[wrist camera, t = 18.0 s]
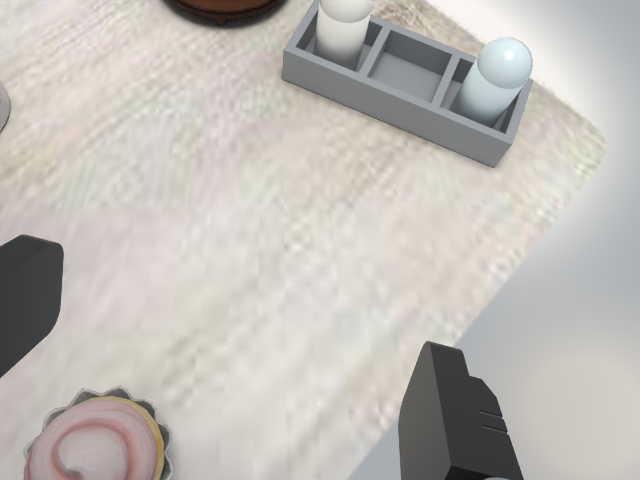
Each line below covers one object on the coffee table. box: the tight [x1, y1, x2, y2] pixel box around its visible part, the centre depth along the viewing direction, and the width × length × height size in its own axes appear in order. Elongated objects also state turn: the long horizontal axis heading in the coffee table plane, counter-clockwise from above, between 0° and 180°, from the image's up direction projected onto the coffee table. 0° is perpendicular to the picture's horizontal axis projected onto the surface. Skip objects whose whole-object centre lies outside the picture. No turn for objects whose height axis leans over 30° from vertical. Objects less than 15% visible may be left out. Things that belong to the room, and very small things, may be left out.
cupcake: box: [23, 385, 174, 480], centre depth 33 cm, size 9×9×10 cm
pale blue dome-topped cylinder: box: [449, 37, 533, 128], centre depth 47 cm, size 5×5×9 cm
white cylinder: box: [313, 0, 373, 72], centre depth 48 cm, size 5×5×9 cm
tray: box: [282, 0, 533, 168], centre depth 51 cm, size 22×8×4 cm, turn 66°
